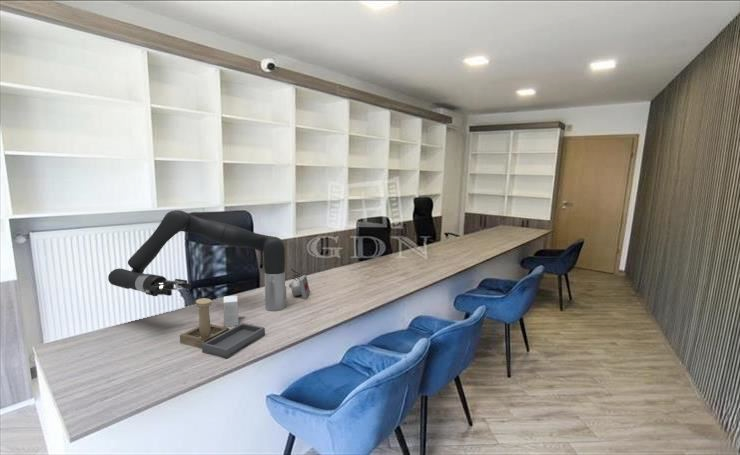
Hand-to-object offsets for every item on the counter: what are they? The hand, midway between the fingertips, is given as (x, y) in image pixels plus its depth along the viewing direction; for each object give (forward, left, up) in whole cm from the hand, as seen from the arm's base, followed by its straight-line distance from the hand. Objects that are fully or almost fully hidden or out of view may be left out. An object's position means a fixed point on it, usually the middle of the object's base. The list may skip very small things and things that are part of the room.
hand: (180, 289), depth 136 cm
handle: (0, +11, -18) cm, 21 cm away
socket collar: (0, +11, -18) cm, 21 cm away
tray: (-2, +24, -18) cm, 30 cm away
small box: (-16, +9, -18) cm, 26 cm away
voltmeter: (-62, +11, -18) cm, 66 cm away
